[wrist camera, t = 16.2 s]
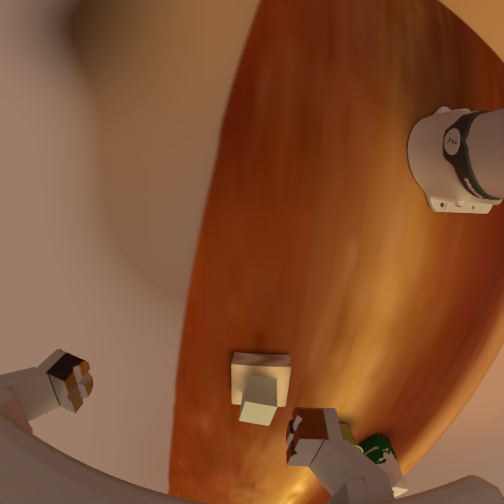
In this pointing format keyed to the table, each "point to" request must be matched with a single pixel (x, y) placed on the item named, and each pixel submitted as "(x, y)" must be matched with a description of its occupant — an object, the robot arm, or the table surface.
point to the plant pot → (349, 435)
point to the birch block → (260, 373)
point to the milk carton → (385, 461)
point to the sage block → (258, 400)
